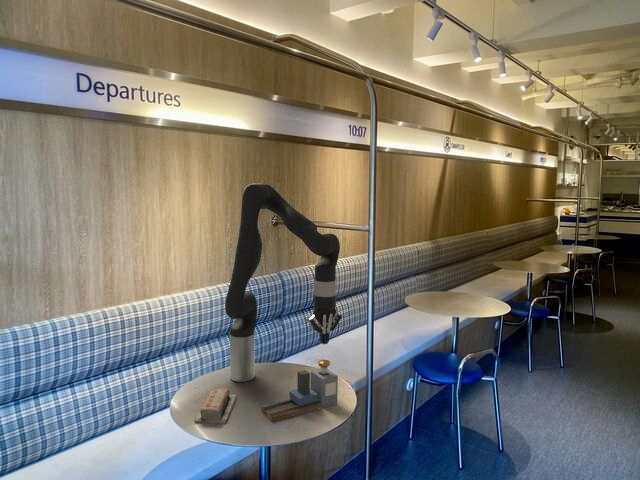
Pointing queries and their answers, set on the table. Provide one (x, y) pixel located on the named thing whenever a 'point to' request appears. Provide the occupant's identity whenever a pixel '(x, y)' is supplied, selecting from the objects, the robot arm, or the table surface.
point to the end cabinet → (325, 387)
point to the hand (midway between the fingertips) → (324, 343)
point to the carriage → (303, 390)
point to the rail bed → (287, 409)
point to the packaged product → (216, 407)
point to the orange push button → (324, 366)
